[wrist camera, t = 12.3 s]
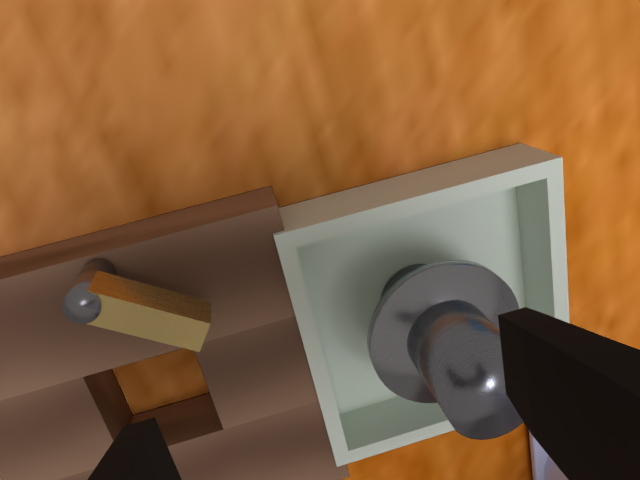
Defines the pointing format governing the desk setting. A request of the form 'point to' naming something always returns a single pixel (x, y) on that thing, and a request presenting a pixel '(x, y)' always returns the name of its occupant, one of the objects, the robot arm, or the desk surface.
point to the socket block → (163, 352)
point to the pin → (446, 343)
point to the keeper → (136, 307)
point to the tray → (408, 249)
